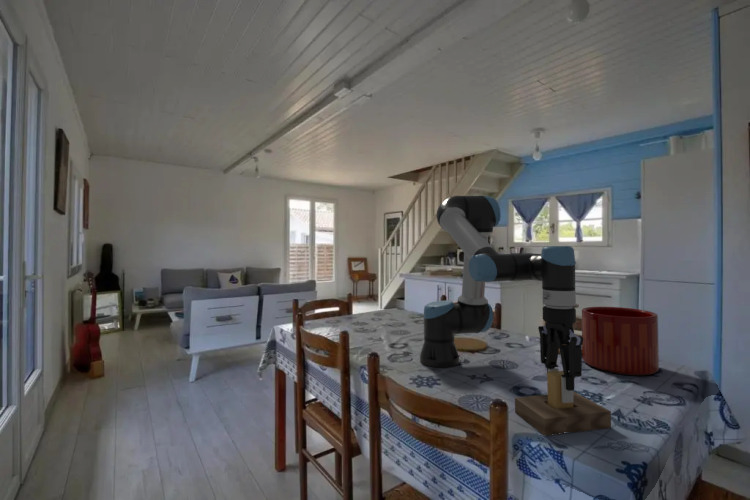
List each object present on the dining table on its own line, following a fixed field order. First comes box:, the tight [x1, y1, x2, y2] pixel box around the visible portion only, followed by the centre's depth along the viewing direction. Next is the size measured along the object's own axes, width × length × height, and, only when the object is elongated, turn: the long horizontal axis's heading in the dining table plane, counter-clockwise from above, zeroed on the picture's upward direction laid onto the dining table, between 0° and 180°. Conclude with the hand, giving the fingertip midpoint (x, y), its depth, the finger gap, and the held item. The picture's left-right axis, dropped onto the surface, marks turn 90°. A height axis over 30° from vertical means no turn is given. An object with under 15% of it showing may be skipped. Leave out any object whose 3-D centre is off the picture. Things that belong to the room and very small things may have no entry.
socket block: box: [514, 391, 612, 437], centre depth 88 cm, size 18×12×4 cm, turn 100°
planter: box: [581, 306, 660, 377], centre depth 128 cm, size 23×23×20 cm
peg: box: [546, 370, 573, 409], centre depth 88 cm, size 3×5×12 cm, turn 100°
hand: (560, 397), depth 88 cm, fingers open, 4 cm apart
